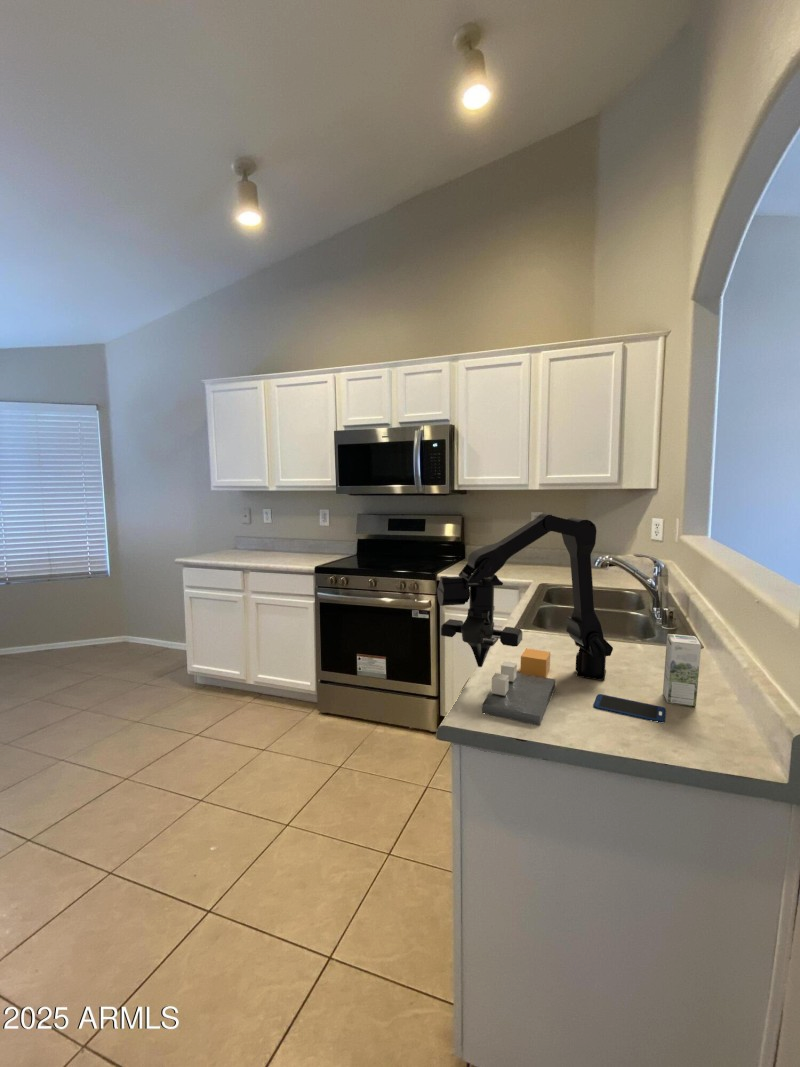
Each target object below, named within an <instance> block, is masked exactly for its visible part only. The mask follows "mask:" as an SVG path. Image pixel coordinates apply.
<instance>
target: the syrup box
mask: <svg viewBox="0 0 800 1067" xmlns="http://www.w3.org/2000/svg"><path fill="white" fill-rule="evenodd" d="M701 653H702V645H701V643H700V641H699V639H698V638H697V637H696V636H694V635H686V634H685V635H684V634H672V633H667V634H666V646H665V659H664V660H665V661H664V674H663V689H662V692H663V696H664V697H665V698H664V699H665V700H666V703H667V704H670V703H671V705H677V704H680V705H679V706H684V705H688V706H687V707H692V706H696V707H697V701H698V700H697V698H698V686H699V676H700V666H701V665H700V664H701V663H700V662H701Z"/></svg>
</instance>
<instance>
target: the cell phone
mask: <svg viewBox="0 0 800 1067" xmlns="http://www.w3.org/2000/svg"><path fill="white" fill-rule="evenodd" d="M592 708H594V709H596V710H601V711H605V712H609V713H612V714H613V713H614V714H618V715H619V714H620V715H623V716H627V717H631V718H632V717H633V718H636V719H641V720H646V721H650V720H652V721H651V722H654V721H658V722H657V723H659V722H664V723H665V722H666V716H665V715H667V710H666V708H665V707H664V706H660V705H655V704H651V703H645V702H642V701H637V700H632V699H631V700H630V699H626V698H623V697H622V698H621V697H617V696H611V695H607V694H601V693H599V694H597V695H596V697H595V699H594V702H593V705H592Z"/></svg>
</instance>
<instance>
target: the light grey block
mask: <svg viewBox="0 0 800 1067" xmlns="http://www.w3.org/2000/svg"><path fill="white" fill-rule="evenodd" d="M517 664H518V663H517V662H512V661H507V660H506V661H505V660H503V662H502V663H501V664H500V674H504V675H509V681H511V682H514V680H515V679H516V673H518V672H517V669H518V668H517V667H518V666H517Z"/></svg>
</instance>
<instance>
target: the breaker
mask: <svg viewBox="0 0 800 1067" xmlns="http://www.w3.org/2000/svg"><path fill="white" fill-rule="evenodd" d="M508 682H509V675H504V674H501V673H497V672H495V673H494V674H493V676H491V691H492V692H491V691H490V692H491V693H494V694H499V695H504V696H505V695H506V693H507V692H508Z"/></svg>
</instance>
